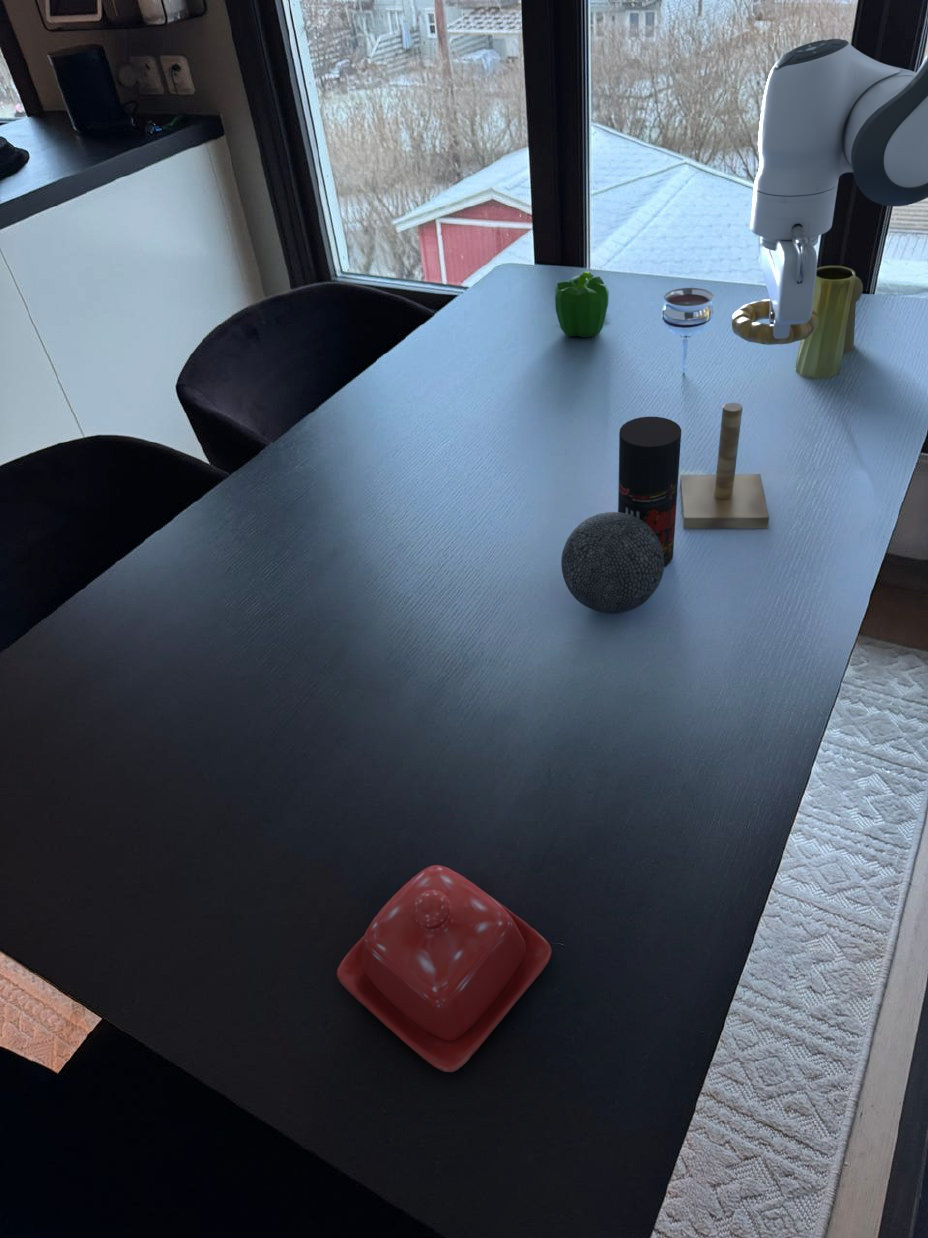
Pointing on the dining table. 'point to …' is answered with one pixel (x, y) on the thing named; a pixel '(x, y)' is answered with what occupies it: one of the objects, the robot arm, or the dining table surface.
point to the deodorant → (650, 475)
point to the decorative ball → (612, 562)
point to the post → (724, 487)
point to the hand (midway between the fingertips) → (778, 329)
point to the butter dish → (443, 965)
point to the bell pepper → (581, 305)
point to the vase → (827, 323)
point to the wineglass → (687, 313)
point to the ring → (767, 325)
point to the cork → (852, 316)
